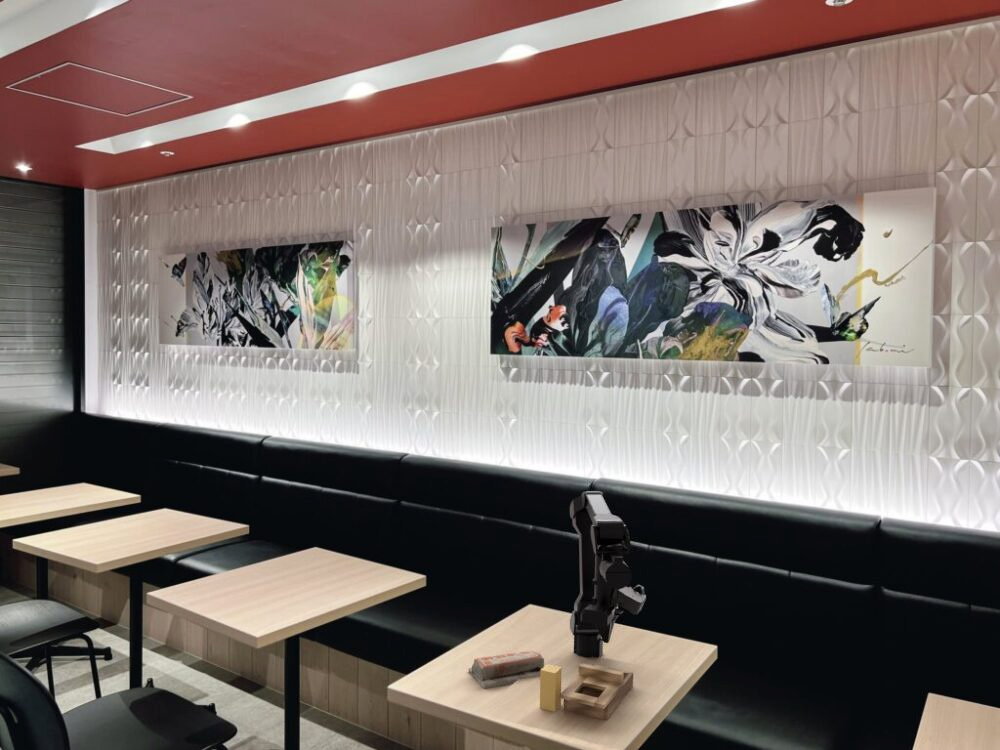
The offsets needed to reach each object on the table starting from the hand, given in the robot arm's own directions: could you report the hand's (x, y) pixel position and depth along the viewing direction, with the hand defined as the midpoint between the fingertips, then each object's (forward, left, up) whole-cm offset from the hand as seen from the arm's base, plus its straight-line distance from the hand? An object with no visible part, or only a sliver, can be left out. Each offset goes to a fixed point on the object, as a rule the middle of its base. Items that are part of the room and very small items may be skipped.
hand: (606, 642), depth 179 cm
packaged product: (-24, -1, -13) cm, 27 cm away
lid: (0, -9, -8) cm, 12 cm away
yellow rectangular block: (-8, -13, -12) cm, 19 cm away
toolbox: (0, -4, -12) cm, 13 cm away
